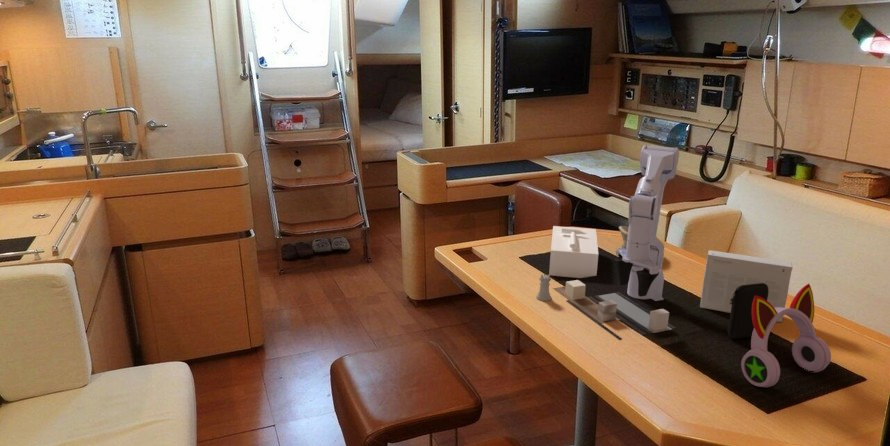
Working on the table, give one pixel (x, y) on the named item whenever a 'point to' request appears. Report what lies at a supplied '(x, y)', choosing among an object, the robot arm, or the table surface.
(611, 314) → the strip
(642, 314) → the strip
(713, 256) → the skincare box
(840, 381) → the table surface
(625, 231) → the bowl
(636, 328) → the lane rails
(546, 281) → the rook chess piece
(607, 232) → the table surface
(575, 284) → the cube
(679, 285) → the table surface
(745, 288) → the carrying case or bag
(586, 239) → the white rectangular block
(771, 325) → the headphones
